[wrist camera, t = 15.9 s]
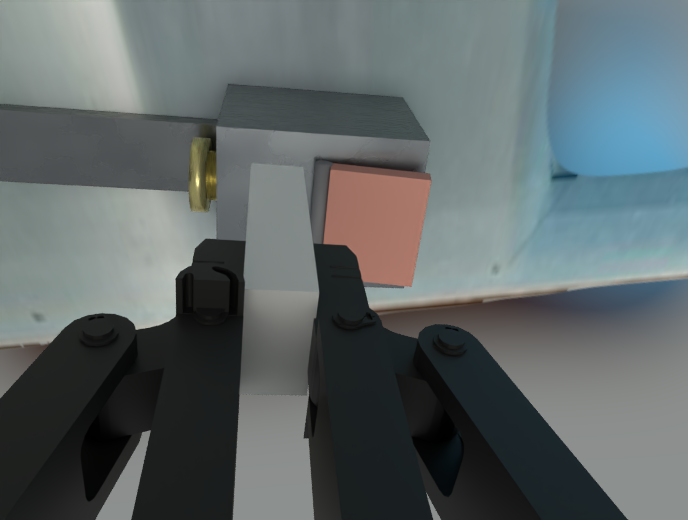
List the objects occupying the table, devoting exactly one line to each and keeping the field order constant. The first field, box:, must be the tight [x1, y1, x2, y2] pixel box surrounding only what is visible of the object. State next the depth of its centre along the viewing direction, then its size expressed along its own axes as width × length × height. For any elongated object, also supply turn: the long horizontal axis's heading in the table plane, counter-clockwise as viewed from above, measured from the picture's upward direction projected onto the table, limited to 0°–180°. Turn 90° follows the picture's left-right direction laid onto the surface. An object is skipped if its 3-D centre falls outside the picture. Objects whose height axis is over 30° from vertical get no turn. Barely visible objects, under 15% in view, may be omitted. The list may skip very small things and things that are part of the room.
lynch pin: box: [189, 137, 217, 212], centre depth 41 cm, size 15×5×5 cm, turn 84°
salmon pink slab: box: [310, 160, 431, 287], centre depth 36 cm, size 1×7×6 cm
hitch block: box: [0, 84, 430, 288], centre depth 39 cm, size 28×10×9 cm, turn 84°
